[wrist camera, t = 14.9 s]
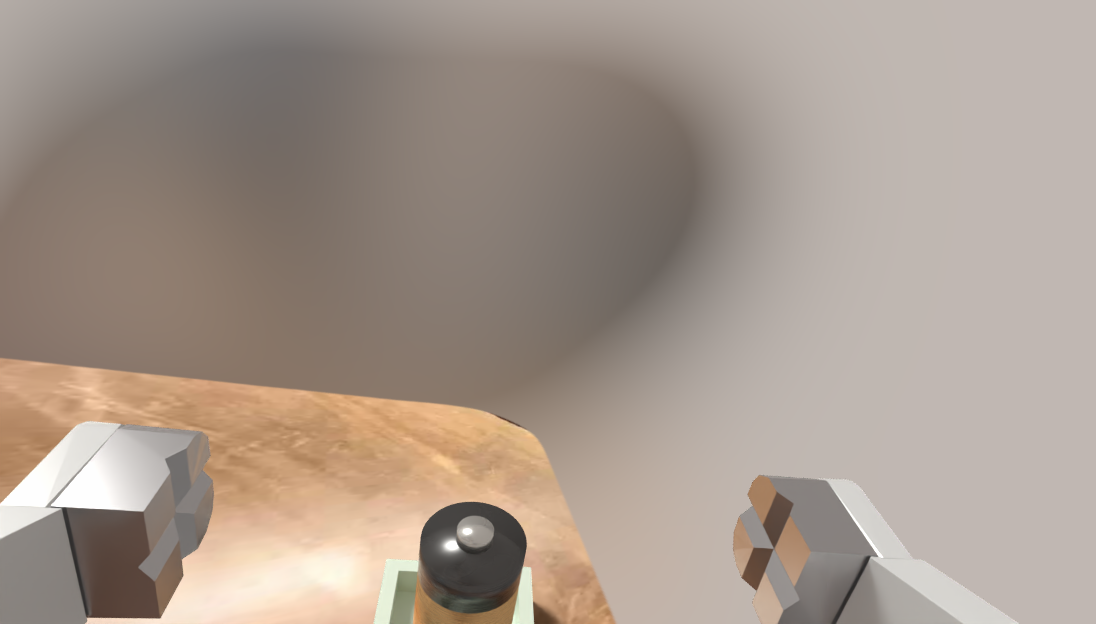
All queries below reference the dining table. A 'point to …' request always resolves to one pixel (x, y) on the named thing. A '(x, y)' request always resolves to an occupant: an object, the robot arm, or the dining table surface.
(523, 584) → the pale green tray
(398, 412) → the dining table surface
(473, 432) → the dining table surface
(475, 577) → the cell
